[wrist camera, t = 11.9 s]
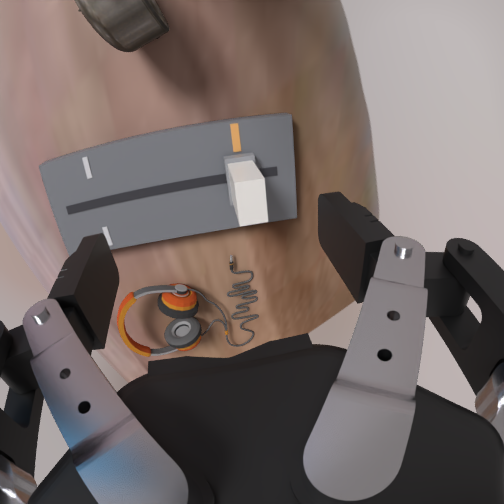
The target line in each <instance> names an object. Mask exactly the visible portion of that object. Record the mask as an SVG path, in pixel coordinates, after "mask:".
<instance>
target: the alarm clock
mask: <svg viewBox="0 0 504 504" xmlns="http://www.w3.org/2000/svg"><path fill="white" fill-rule="evenodd" d="M75 2H76V4H77V6H78V7H79V10H78V11H79V12H80V11H81V12H82V14H83V15H84V17H85V18H86V19H87V21H88V22H89V23H90V24H91V26H92V27H93V28H94V29H95V30H96V32H97V33H98V34H99V35H100V36H101V37H102V38H103V39H104V40H105V41H107V42H108V43H109V44H110V45H112V46H113V47H115V48H116V49H118V50H120V51H123V52H133V51H136V50H137V49H139V48H140V47H142V46H144V45H145V44H147V43H149V42H151V41H152V40H154V39H158V38H159V37H160V36H161V35H163V34H164V33H166V32H168V31H169V26H168V23H167V21H166V19H165V17H164V16H163V14H162V12H161V10H160V8H159V7H158V5H157V3H156V2H155V0H75Z"/></svg>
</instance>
